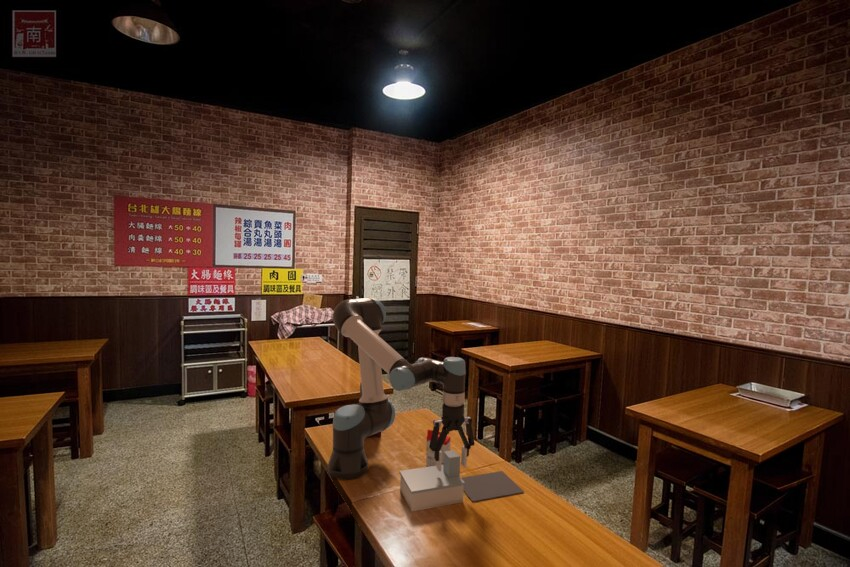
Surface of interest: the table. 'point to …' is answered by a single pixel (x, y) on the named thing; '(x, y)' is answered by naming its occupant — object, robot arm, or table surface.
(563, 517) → the table surface
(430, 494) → the tub
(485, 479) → the mat
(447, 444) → the ink box
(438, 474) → the lid
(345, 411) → the robot arm
